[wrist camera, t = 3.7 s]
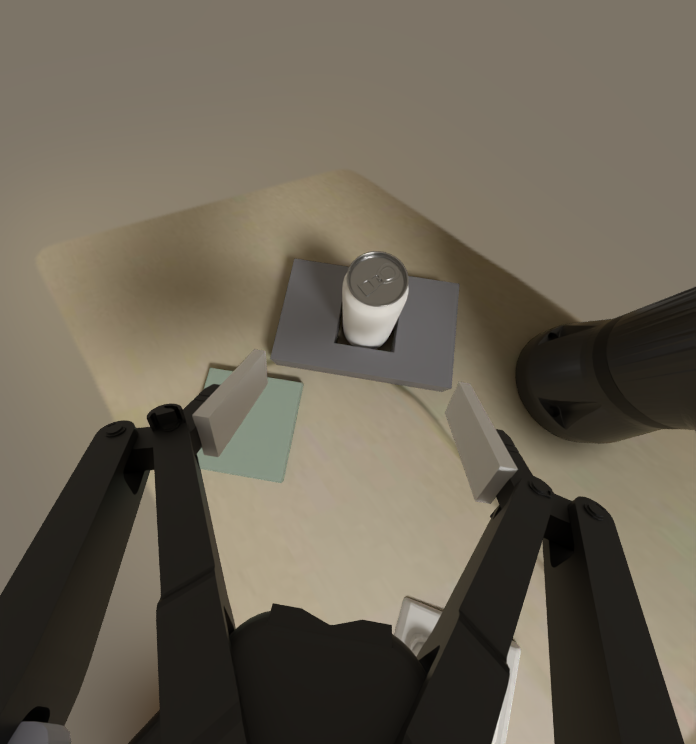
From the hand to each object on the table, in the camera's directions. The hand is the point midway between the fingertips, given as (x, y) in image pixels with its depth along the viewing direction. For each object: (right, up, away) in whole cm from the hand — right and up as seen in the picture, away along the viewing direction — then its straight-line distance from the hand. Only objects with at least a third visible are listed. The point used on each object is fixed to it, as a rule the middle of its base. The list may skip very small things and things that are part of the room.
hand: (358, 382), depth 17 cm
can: (+2, +7, +17) cm, 18 cm away
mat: (-13, -6, +14) cm, 20 cm away
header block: (+2, +7, +17) cm, 18 cm away
